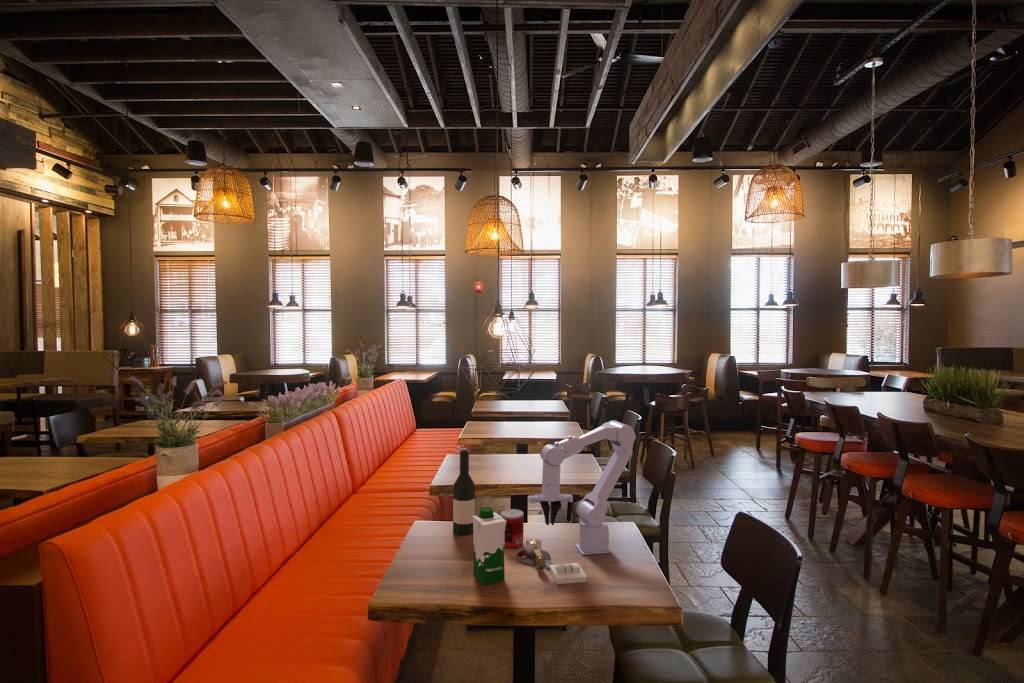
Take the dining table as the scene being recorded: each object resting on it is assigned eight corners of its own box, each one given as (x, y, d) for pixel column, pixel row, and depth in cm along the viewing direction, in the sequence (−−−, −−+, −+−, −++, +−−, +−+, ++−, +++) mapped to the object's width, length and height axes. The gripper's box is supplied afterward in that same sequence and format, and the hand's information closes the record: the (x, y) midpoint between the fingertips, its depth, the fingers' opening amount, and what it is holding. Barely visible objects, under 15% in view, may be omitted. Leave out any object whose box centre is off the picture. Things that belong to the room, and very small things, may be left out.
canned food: (524, 540, 190) (524, 509, 189) (522, 550, 182) (522, 517, 182) (502, 539, 191) (502, 508, 190) (499, 549, 183) (499, 516, 182)
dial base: (545, 549, 183) (545, 546, 183) (557, 569, 169) (557, 565, 169) (513, 551, 181) (513, 548, 181) (522, 571, 167) (522, 568, 167)
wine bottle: (479, 528, 200) (479, 447, 199) (470, 537, 192) (470, 452, 191) (458, 525, 203) (458, 445, 201) (448, 534, 195) (448, 450, 193)
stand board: (577, 567, 170) (577, 556, 170) (586, 581, 161) (586, 569, 161) (549, 569, 168) (549, 558, 168) (557, 584, 159) (557, 572, 159)
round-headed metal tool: (524, 552, 178) (524, 538, 178) (539, 551, 179) (539, 537, 179) (533, 572, 165) (533, 556, 164) (549, 571, 166) (550, 555, 165)
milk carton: (495, 568, 169) (496, 504, 168) (509, 581, 161) (509, 514, 160) (469, 574, 165) (469, 508, 164) (481, 587, 157) (482, 519, 156)
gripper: (569, 478, 183) (567, 518, 183) (526, 479, 180) (525, 520, 180) (575, 484, 176) (573, 526, 176) (531, 485, 173) (529, 528, 174)
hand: (549, 523), depth 178 cm, fingers closed
